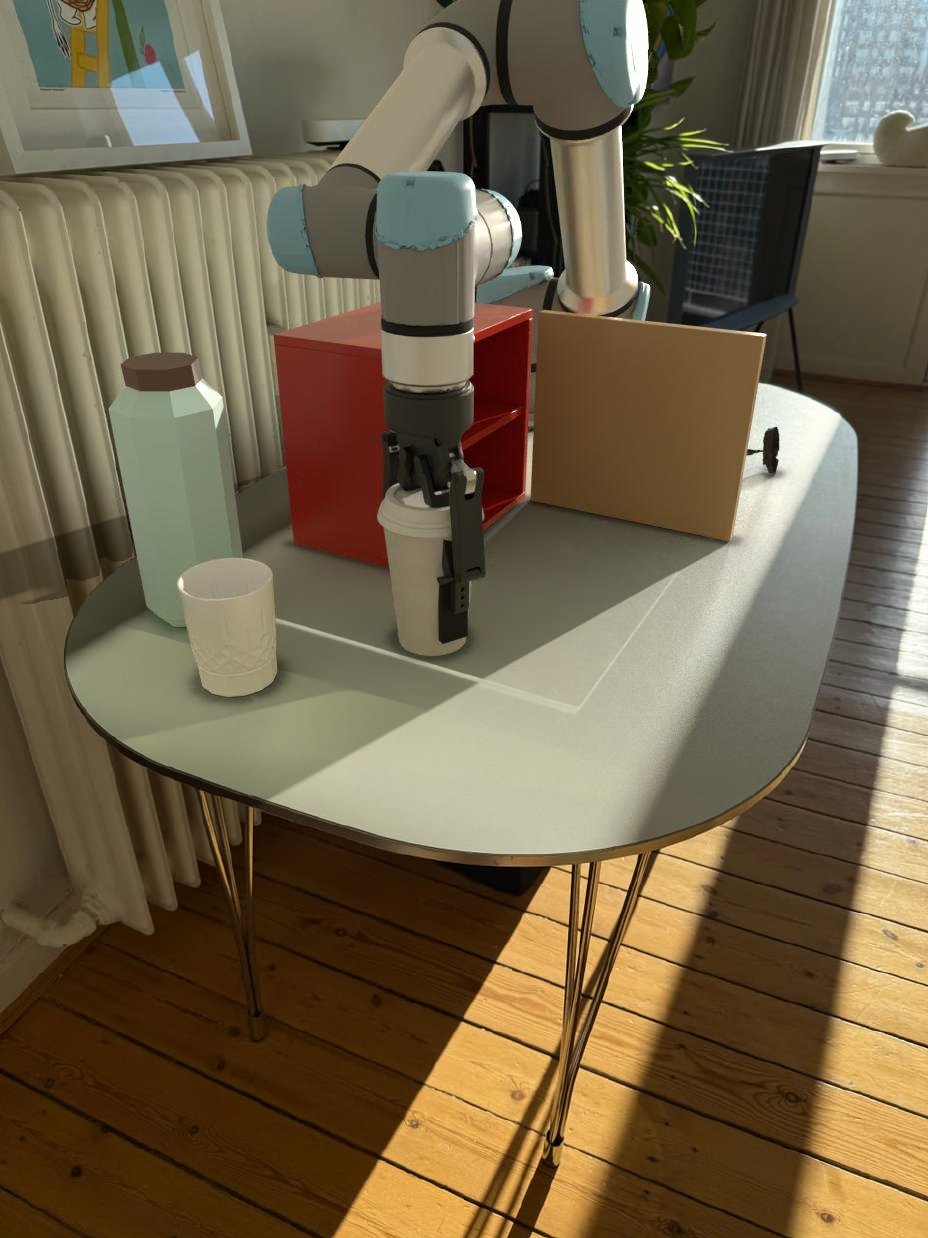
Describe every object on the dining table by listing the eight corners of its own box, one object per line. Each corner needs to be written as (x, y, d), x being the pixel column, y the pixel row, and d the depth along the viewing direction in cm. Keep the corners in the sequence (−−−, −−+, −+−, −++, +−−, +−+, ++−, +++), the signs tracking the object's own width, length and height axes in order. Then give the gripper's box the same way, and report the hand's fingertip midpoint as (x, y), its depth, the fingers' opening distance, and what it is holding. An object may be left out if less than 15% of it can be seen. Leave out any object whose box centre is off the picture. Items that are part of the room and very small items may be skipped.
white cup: (176, 677, 81) (158, 578, 76) (249, 644, 86) (237, 549, 81) (227, 712, 76) (211, 609, 71) (301, 675, 81) (291, 576, 76)
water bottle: (143, 595, 94) (96, 353, 82) (238, 578, 98) (207, 343, 85) (154, 640, 86) (104, 380, 74) (258, 620, 90) (227, 368, 77)
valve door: (556, 480, 124) (566, 299, 112) (746, 516, 113) (780, 321, 101) (530, 500, 117) (538, 311, 105) (729, 541, 106) (763, 336, 94)
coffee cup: (471, 671, 82) (473, 519, 74) (370, 659, 84) (362, 509, 76) (489, 619, 90) (493, 478, 83) (397, 610, 92) (392, 470, 84)
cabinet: (525, 498, 118) (533, 308, 106) (426, 577, 98) (422, 354, 86) (408, 474, 125) (403, 294, 113) (293, 544, 105) (273, 334, 93)
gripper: (536, 403, 69) (524, 657, 80) (409, 350, 83) (415, 571, 95) (452, 418, 65) (453, 681, 77) (335, 360, 80) (350, 588, 91)
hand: (432, 620), depth 86 cm, fingers closed on coffee cup, 7 cm apart
